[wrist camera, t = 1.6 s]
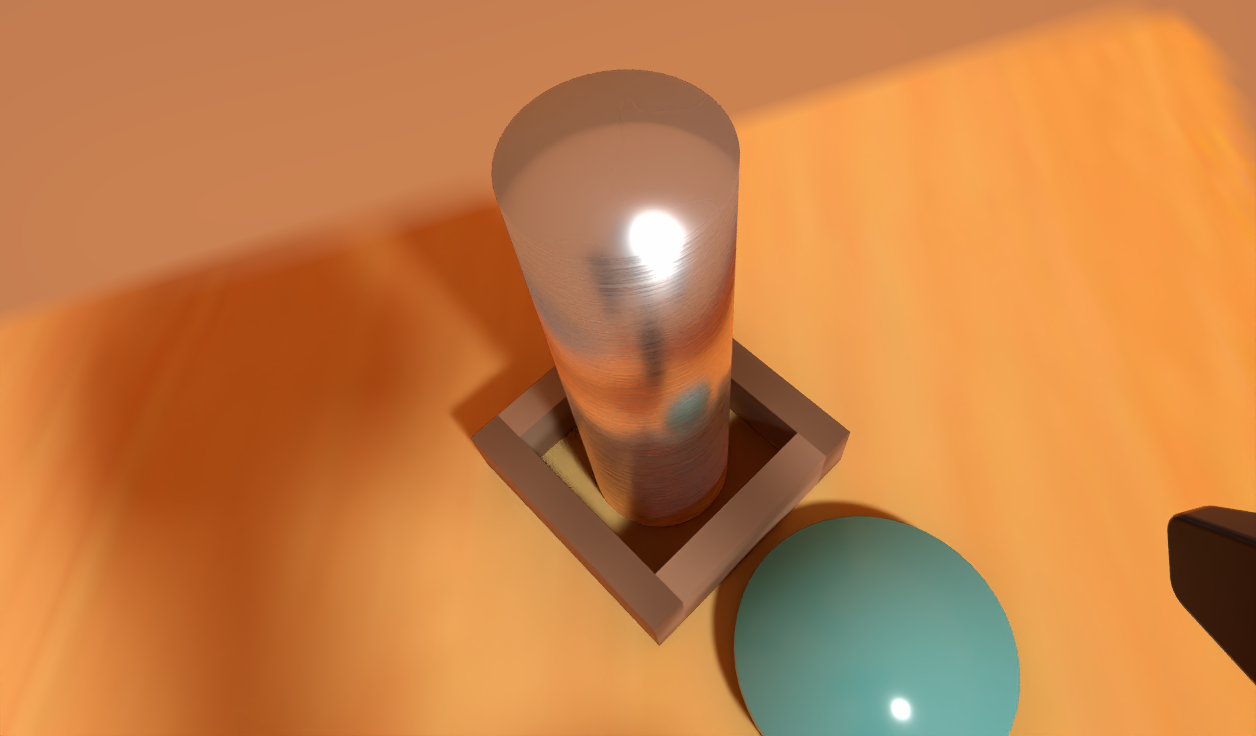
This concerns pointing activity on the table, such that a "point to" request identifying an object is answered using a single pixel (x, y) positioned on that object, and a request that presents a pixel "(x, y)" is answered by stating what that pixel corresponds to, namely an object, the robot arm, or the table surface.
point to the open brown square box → (721, 542)
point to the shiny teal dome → (873, 637)
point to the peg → (632, 275)
